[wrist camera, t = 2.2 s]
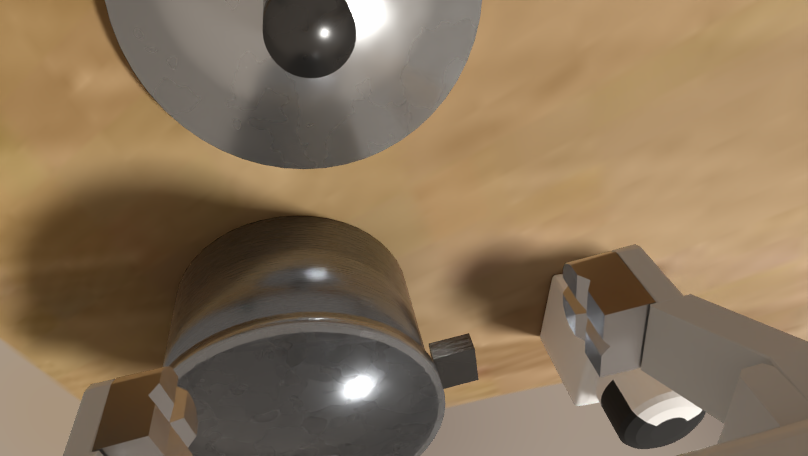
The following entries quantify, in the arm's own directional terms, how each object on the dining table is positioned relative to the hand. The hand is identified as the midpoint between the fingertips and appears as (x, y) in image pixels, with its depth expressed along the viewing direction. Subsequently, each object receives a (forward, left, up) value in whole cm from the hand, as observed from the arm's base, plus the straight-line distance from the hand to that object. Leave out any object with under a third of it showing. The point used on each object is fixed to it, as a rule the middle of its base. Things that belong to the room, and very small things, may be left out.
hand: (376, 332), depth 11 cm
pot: (+19, -6, -22) cm, 29 cm away
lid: (-1, 0, -22) cm, 22 cm away
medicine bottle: (+26, +16, -22) cm, 38 cm away
